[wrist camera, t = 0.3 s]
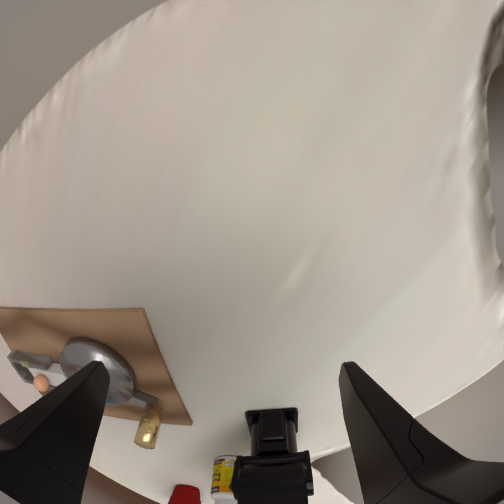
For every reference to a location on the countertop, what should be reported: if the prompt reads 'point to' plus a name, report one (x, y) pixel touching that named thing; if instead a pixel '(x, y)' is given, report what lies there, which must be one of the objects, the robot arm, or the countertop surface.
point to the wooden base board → (100, 329)
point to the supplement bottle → (223, 480)
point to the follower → (47, 376)
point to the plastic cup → (185, 495)
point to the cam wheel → (115, 383)
